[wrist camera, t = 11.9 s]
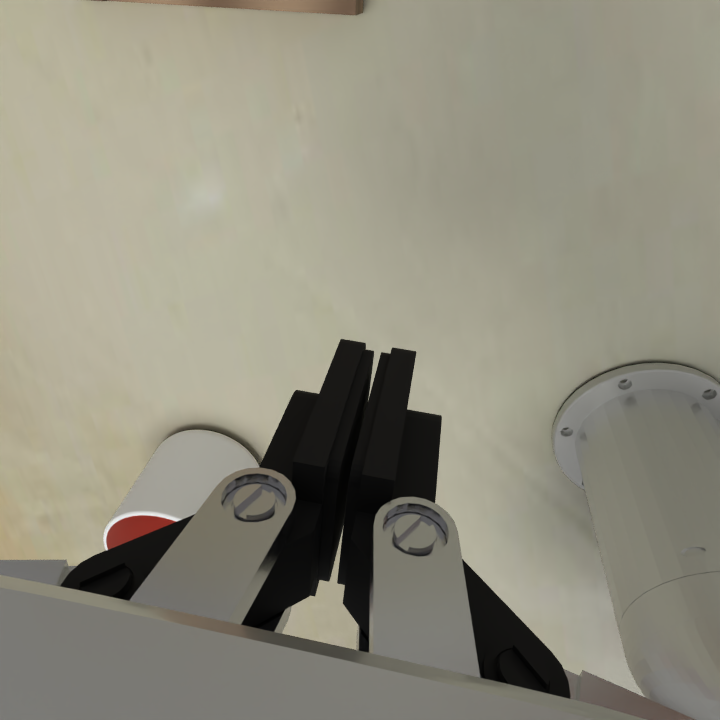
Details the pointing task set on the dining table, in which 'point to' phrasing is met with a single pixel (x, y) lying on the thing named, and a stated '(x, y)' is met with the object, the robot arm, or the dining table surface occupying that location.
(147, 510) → the cup
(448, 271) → the dining table surface
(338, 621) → the dining table surface
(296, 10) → the corner stop
